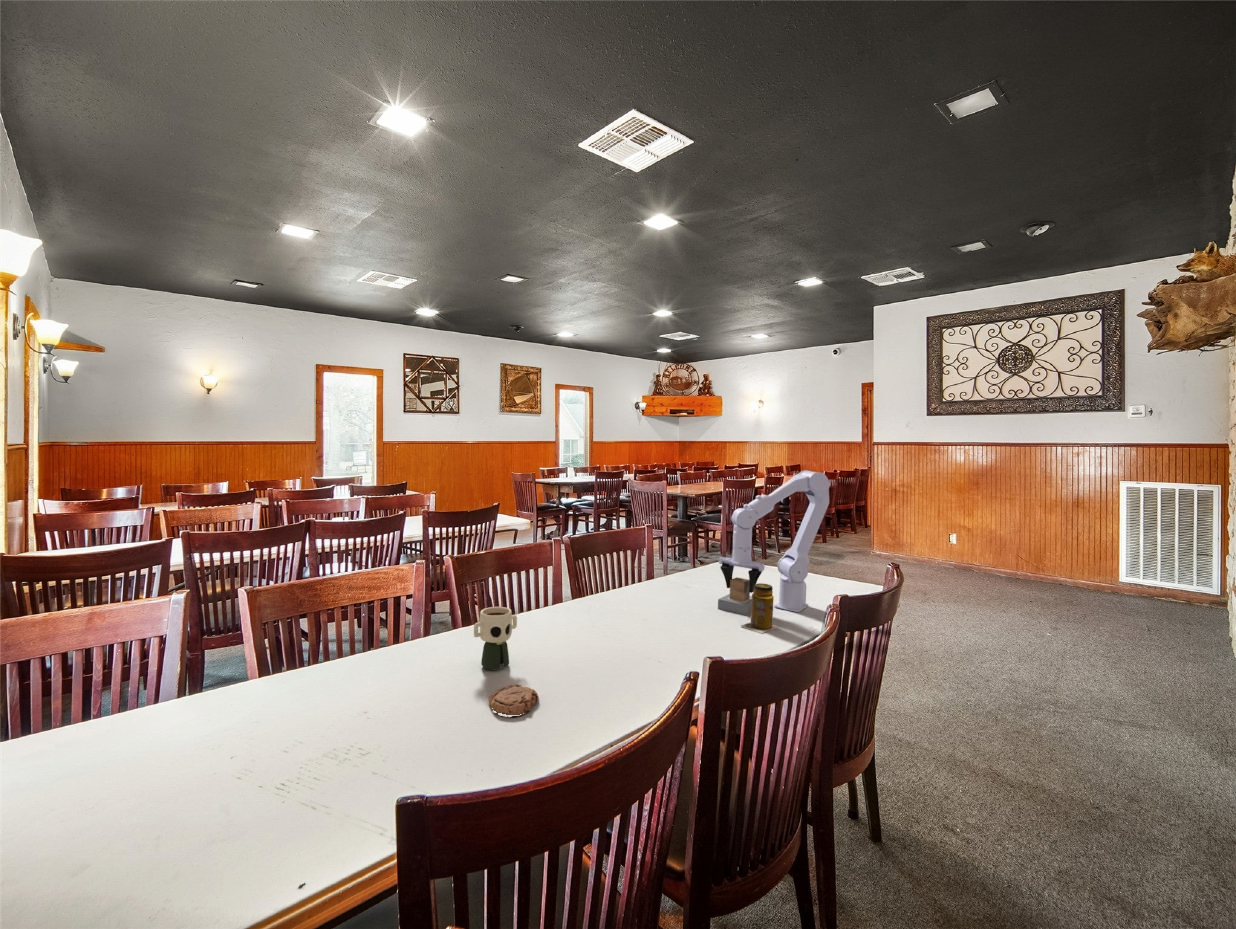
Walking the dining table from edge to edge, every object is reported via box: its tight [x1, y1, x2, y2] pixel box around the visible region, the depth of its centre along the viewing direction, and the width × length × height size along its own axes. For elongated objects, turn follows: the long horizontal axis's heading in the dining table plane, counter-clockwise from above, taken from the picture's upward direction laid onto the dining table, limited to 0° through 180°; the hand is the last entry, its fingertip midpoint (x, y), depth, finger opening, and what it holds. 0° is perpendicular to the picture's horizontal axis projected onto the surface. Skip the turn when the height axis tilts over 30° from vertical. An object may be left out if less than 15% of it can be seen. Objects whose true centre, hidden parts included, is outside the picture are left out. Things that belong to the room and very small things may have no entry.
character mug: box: [473, 606, 518, 671], centre depth 135 cm, size 11×7×13 cm, turn 131°
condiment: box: [740, 583, 779, 634], centre depth 168 cm, size 7×8×12 cm
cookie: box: [487, 683, 540, 715], centre depth 117 cm, size 10×11×3 cm
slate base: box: [717, 593, 752, 616], centre depth 185 cm, size 10×10×3 cm
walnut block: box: [729, 576, 751, 602], centre depth 185 cm, size 5×5×6 cm
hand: (740, 589), depth 185 cm, fingers open, 7 cm apart
